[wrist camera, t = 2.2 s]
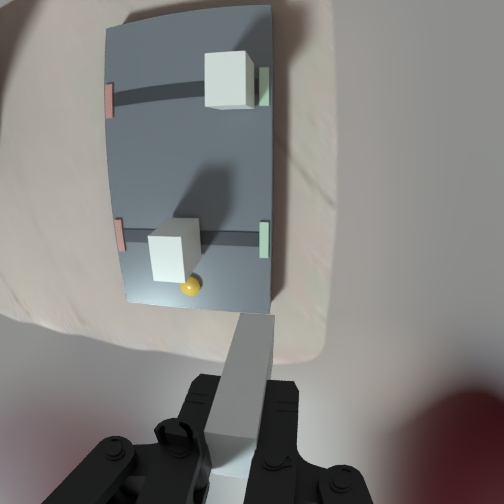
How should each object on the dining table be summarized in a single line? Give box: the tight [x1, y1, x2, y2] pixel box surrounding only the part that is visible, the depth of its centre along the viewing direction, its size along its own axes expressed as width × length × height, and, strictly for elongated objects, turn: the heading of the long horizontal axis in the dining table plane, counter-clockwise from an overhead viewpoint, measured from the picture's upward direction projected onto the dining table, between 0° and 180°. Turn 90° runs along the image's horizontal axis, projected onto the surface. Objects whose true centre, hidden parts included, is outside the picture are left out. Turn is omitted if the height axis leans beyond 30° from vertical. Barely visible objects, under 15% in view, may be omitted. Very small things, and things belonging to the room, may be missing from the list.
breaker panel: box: [104, 4, 274, 314], centre depth 25 cm, size 26×14×2 cm, turn 1°
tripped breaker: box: [148, 218, 202, 283], centre depth 24 cm, size 4×2×4 cm
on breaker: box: [205, 51, 254, 110], centre depth 19 cm, size 4×2×4 cm
